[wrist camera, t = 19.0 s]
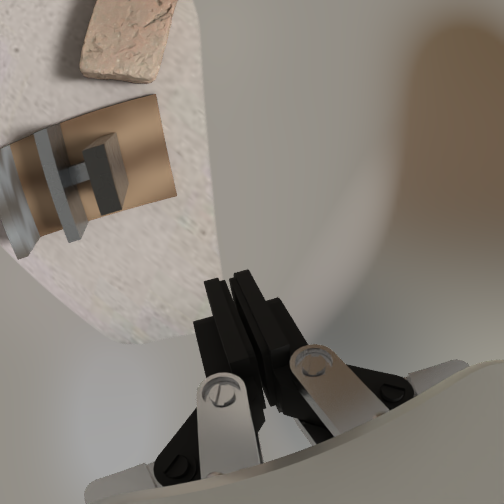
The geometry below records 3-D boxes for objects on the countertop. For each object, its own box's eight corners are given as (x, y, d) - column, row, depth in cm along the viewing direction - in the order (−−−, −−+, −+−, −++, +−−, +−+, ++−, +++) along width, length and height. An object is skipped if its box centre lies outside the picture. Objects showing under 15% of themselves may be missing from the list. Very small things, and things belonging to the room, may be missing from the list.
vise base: (0, 149, 27) (-23, 160, 22) (155, 94, 30) (155, 93, 25) (30, 237, 33) (14, 260, 28) (176, 193, 36) (180, 211, 31)
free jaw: (48, 127, 27) (18, 139, 20) (110, 106, 28) (96, 109, 21) (77, 225, 33) (60, 260, 26) (135, 207, 34) (131, 239, 27)
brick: (156, 84, 30) (157, 82, 26) (83, 78, 27) (73, 76, 23) (192, -41, 23) (199, -58, 19) (122, -48, 20) (119, -65, 16)
